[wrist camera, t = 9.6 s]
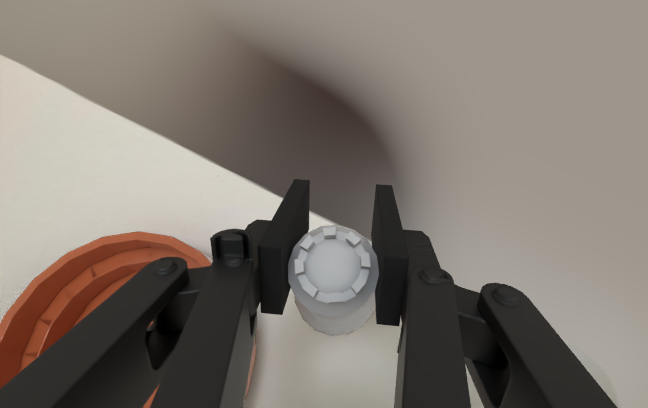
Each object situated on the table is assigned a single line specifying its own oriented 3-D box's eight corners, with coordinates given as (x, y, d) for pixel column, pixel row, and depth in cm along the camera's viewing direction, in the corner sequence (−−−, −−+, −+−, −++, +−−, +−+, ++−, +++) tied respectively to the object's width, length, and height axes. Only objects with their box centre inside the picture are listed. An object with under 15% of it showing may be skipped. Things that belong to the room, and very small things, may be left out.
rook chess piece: (341, 237, 20) (341, 177, 12) (393, 299, 18) (430, 273, 11) (280, 286, 19) (239, 253, 11) (329, 354, 17) (320, 368, 10)
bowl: (295, 305, 24) (287, 299, 20) (171, 543, 20) (126, 599, 16) (135, 217, 27) (99, 196, 23) (-6, 405, 23) (-83, 421, 19)
